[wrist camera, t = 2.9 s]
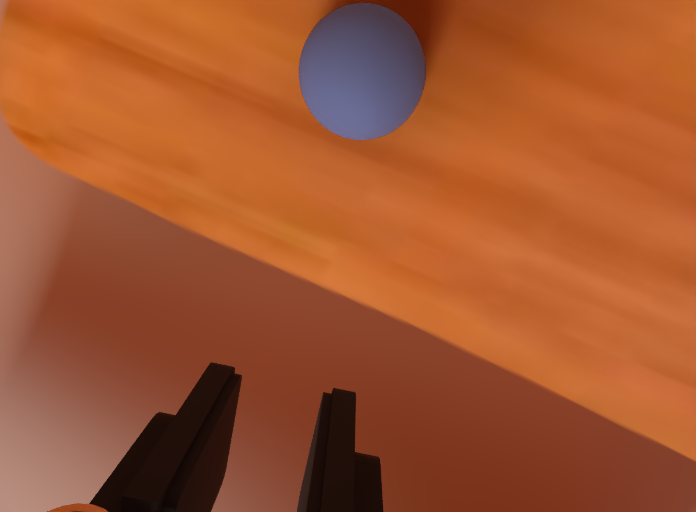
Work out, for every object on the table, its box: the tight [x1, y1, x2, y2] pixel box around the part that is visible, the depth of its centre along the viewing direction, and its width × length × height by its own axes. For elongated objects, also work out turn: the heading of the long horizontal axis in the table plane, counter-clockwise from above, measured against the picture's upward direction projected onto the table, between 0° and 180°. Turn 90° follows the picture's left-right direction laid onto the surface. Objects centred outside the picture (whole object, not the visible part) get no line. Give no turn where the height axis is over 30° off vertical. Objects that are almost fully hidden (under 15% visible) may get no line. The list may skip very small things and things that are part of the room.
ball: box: [299, 3, 426, 140], centre depth 20 cm, size 6×6×6 cm
